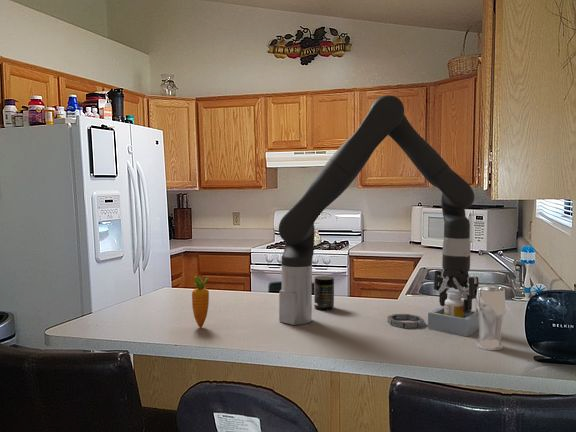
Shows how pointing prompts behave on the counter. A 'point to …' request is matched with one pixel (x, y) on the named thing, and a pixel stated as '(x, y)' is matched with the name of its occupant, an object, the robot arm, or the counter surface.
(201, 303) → the carrot
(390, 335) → the counter surface
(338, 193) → the robot arm
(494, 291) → the beer glass
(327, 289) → the supplement container
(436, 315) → the bin
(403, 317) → the collar
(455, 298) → the supplement bottle
